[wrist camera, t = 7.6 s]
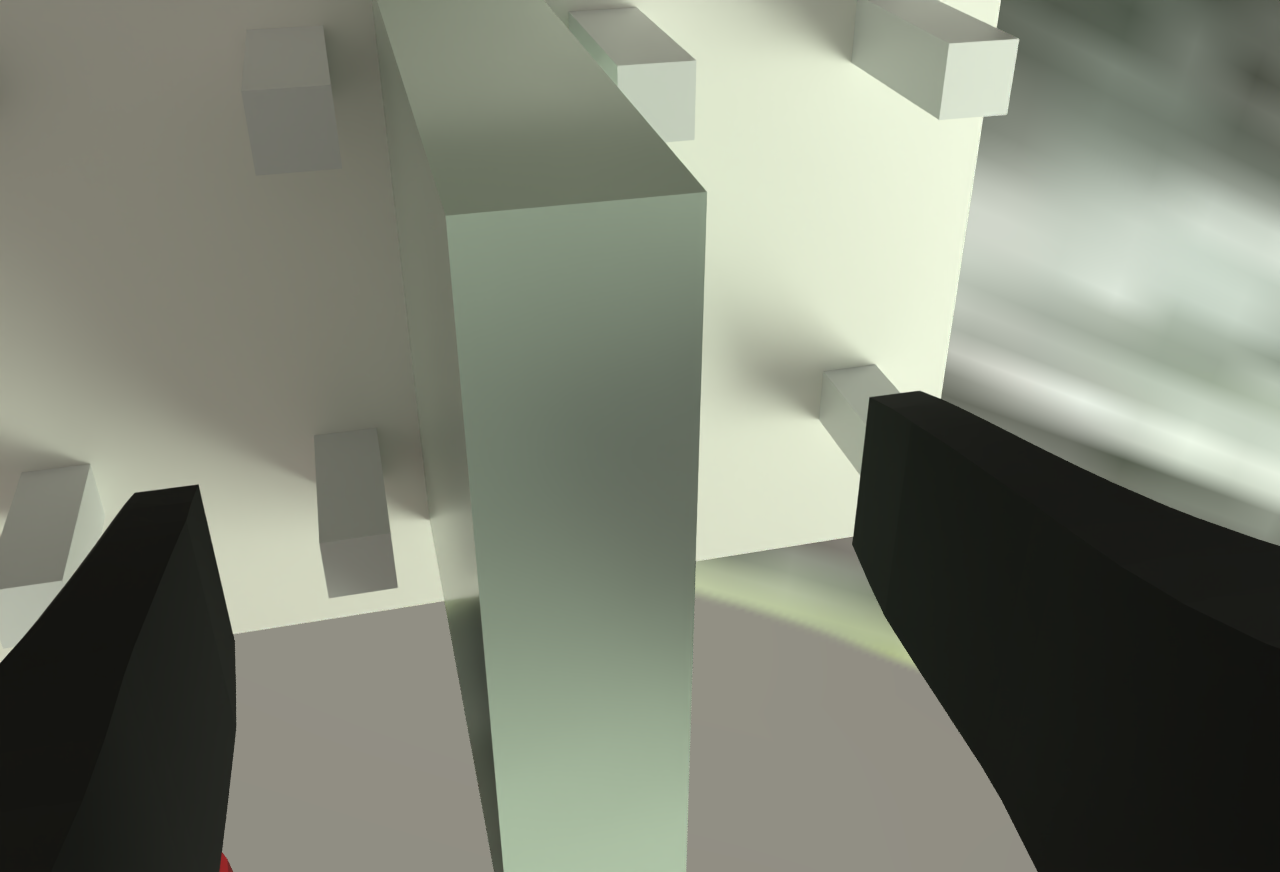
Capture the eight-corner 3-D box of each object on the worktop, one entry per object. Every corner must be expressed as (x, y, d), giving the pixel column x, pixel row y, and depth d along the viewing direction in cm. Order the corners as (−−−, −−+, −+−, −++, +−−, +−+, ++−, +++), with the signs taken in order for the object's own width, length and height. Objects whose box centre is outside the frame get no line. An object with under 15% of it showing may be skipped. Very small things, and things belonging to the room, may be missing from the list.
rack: (998, -224, 18) (1162, -206, 15) (899, 498, 25) (995, 622, 21) (-299, -203, 14) (-470, -172, 11) (3, 634, 21) (-47, 807, 18)
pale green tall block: (515, -33, 17) (707, 192, 9) (543, 504, 21) (684, 936, 14) (368, -26, 16) (444, 215, 9) (429, 520, 21) (513, 973, 14)
